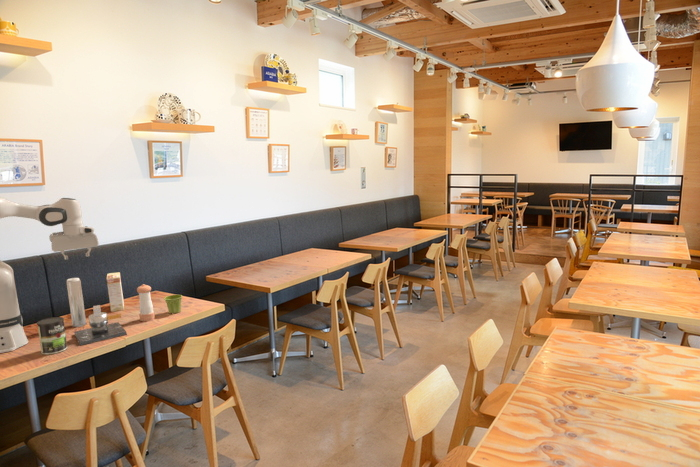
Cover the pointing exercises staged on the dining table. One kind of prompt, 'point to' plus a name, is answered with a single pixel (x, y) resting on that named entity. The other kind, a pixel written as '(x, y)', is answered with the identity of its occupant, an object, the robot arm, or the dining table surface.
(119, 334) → the post plate
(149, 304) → the pepper shaker
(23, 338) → the robot arm
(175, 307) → the plant pot
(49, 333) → the coffee can
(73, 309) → the thermos flask
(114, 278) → the coffeecake box
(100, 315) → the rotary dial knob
